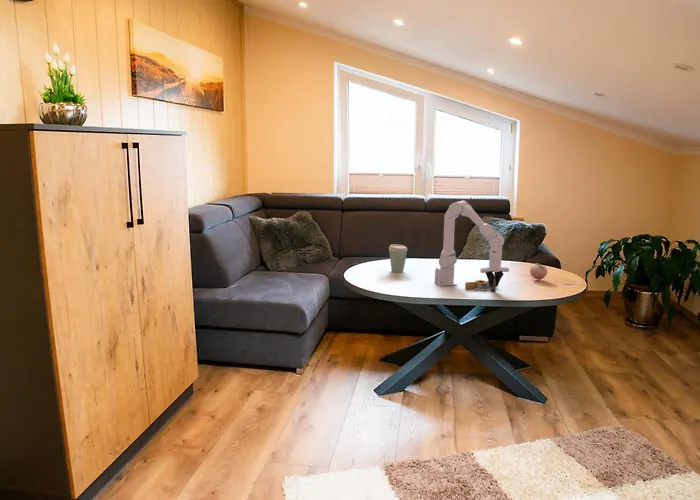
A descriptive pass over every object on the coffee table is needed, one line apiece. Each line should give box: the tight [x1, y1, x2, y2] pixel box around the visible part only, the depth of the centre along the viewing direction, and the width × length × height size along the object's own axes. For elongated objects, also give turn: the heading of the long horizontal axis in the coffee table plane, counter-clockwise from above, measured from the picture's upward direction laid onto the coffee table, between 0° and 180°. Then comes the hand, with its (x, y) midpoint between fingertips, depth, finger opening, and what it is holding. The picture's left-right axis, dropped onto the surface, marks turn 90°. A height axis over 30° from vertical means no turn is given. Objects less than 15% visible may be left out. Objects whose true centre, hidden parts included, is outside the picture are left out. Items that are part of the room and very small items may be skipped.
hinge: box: [464, 279, 491, 291], centre depth 283 cm, size 17×6×4 cm, turn 104°
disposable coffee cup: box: [388, 243, 408, 274], centre depth 313 cm, size 11×11×15 cm
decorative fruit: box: [529, 262, 548, 281], centre depth 299 cm, size 9×8×10 cm
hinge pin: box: [490, 275, 497, 293], centre depth 276 cm, size 2×2×8 cm
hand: (493, 286), depth 276 cm, fingers closed on hinge pin, 2 cm apart
